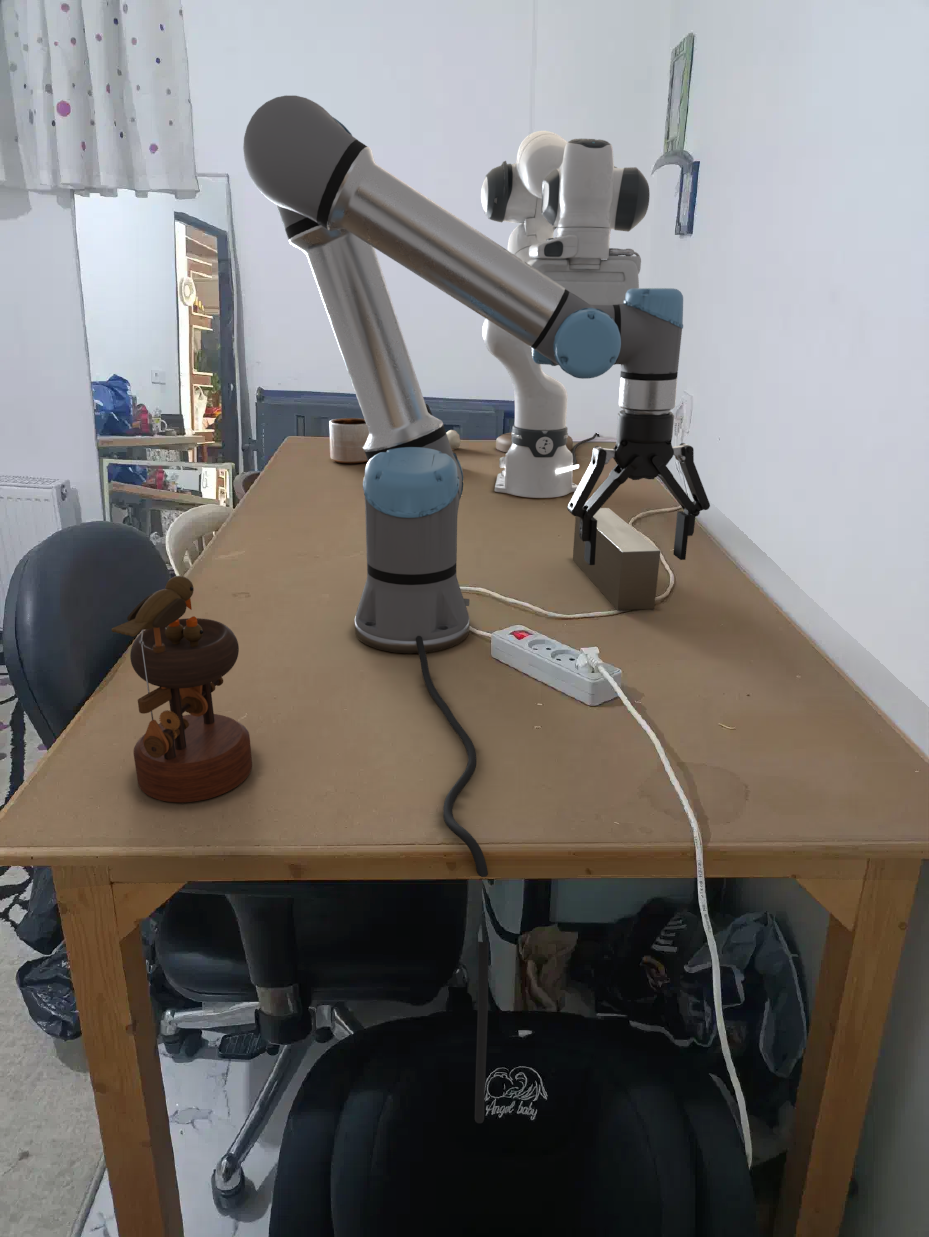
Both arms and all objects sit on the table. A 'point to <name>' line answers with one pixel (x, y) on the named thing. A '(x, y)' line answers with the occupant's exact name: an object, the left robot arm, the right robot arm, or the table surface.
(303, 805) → the table surface
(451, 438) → the dog toy
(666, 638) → the table surface
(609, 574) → the bar
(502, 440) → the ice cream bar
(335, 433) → the planter
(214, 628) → the music box
